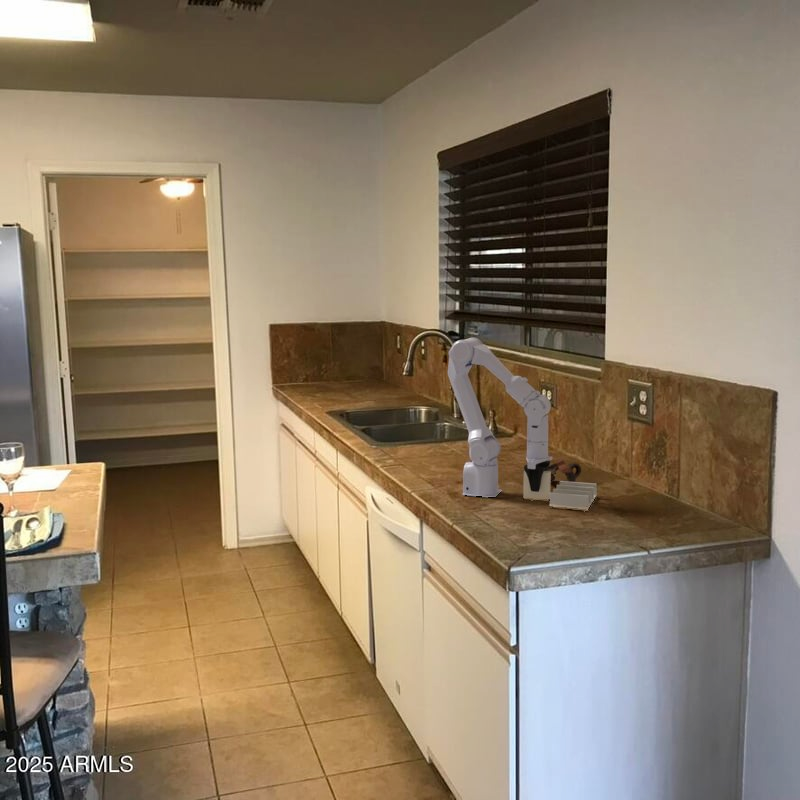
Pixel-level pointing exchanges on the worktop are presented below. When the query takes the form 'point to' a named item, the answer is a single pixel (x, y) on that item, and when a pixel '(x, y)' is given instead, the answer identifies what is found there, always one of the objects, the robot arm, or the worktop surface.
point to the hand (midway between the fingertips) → (536, 489)
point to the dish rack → (573, 495)
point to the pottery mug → (565, 470)
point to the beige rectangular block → (544, 487)
